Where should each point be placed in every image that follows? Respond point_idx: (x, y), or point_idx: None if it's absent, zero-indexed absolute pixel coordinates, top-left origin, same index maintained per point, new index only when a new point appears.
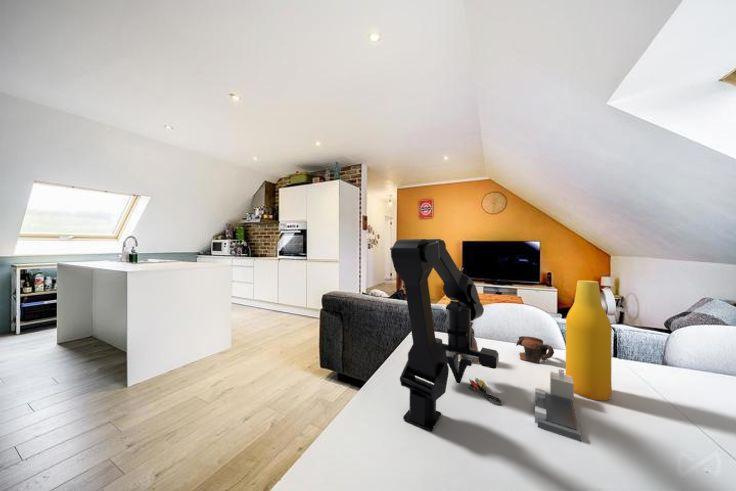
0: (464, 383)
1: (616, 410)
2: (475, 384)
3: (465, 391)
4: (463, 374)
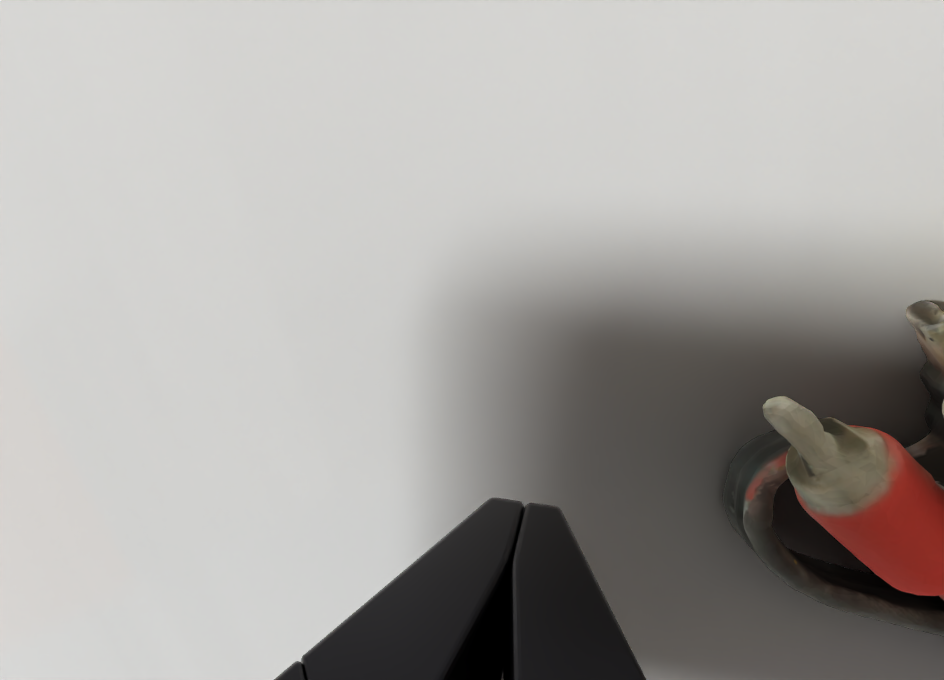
0: (628, 339)
1: None
2: (930, 588)
3: (675, 615)
4: (621, 645)
